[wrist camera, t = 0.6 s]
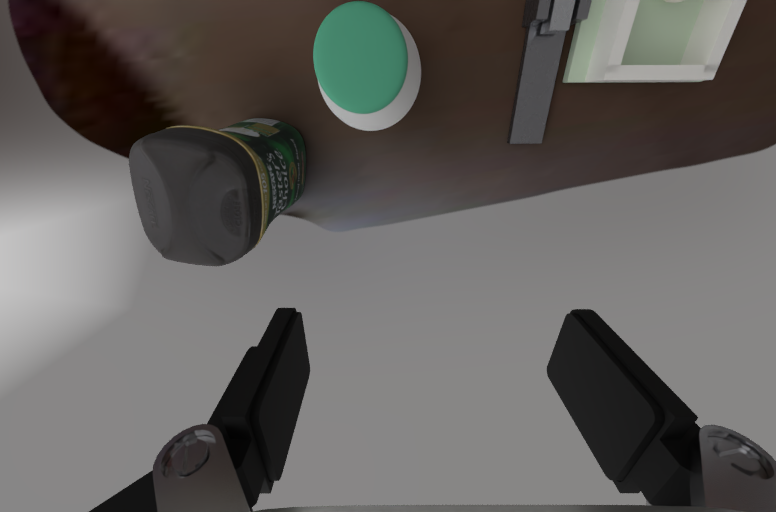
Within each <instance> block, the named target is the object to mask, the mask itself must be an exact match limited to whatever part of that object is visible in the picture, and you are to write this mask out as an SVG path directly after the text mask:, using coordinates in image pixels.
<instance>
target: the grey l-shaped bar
mask: <svg viewBox="0 0 776 512" xmlns="http://www.w3.org/2000/svg"><path fill="white" fill-rule="evenodd" d="M574 4H575V0H551V2H550V8H549V13H548V18H547V20H545V21H543V22H542V26H541V32H540V34H560V33H563V32H566V31H568V30H569V27H570V22H571V18H572V13H573V9H574Z"/></svg>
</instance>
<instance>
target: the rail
mask: <svg viewBox="0 0 776 512" xmlns="http://www.w3.org/2000/svg"><path fill="white" fill-rule="evenodd" d="M550 2H551V0H526V4H525V10H524V16H523V23H522V27H527V29H526V35H525V41H524V47H523V53H522V58H521V64H520V70H519V76H518V82H517V88H516V94H515V100H514V106H513V112H512V118H511V124H510V129H509V135H508V141H507V143H510V144H522V143H542V139H543V134H544V130H545V125H546V120H547V116H548V111H549V107H550V102H551V98H552V93H553V88H554V84H555V79H556V75H557V70H558V66H559V61H560V56H561V52H562V47H563V43H564V38H565V34H566V32H563V33H560V34H540V32H541V26H542V22H543V21H545V20H547V18H548V13H549V8H550ZM591 2H592V0H575V4H574V9H573V13H572V18H571V22H570V26H571V25H574V24H576V23H579V22H581V21H584V20H586V19H587V18H588V14H589V10H590V6H591Z"/></svg>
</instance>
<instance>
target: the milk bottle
mask: <svg viewBox="0 0 776 512" xmlns="http://www.w3.org/2000/svg"><path fill="white" fill-rule="evenodd" d="M313 60H314V68H315V72H316V76H317V79H318V83H319V87H320V91H321V93H322V96H323V98H324V100H325V102H326V103H327V105H328V107H329V108H330V109H331V111H332V112H333V113H334V114H335V115H336V116H337V117H338V118H339V119H340V120H342V121H343V122H344V123H346V124H348V125H349V126H351V127H354V128H356V129H360V130H365V131H377V130H382V129H385V128H388V127H390V126H392V125H394V124H395V123H397V122H398V121H400V120H401V119H402V118H403V117H404V116H405V115H406V114H407V112H408V111H409V110H410V108H411V107H412V105H413V103H414V101H415V99H416V97H417V94H418V91H419V87H420V81H421V63H420V57H419V53H418V50H417V47H416V44H415V42H414V40H413V38H412V36H411V34H410V33H409V31H408V30H407V29H406V27H405V26H404V25H403V24H402V23H401V22H400V21H399V20H397V19H396V18H395V17H393V16H392V15H390V14H389V13H388V12H386V11H385V10H384V9H382V8H381V7H379V6H377V5H375V4H372V3H369V2H364V1H353V2H348V3H345V4H343V5H341V6H339V7H337V8H335V9H334V10H333V11H332V12H331V13H330V14H329V15H328V16H327V17H326V18H325V19H324V21H323V22H322V24H321V26H320V28H319V30H318V32H317V35H316V38H315V43H314V50H313Z"/></svg>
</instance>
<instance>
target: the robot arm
mask: <svg viewBox="0 0 776 512" xmlns="http://www.w3.org/2000/svg"><path fill="white" fill-rule="evenodd" d="M309 374H310V364H309V358H308V352H307V345H306V339H305V333H304V327H303V321H302V314H301V312H296V309H295V308H278V309H277V310H276V312H275V314H274V316H273V318H272V320H271V321H270V323H269V325H268V327H267V329H266V331H265V333H264V335H263V337H262V339H261V341H260V342H259V344H258V346H257V347H251V348H249V349H248V351H247V352H246V354H245V356H244V358H243V360H242V361H241V363H240V365H239V367H238V369H237V370H236V372H235V374H234V376H233V378H232V380H231V381H230V383H229V385H228V387H227V389H226V391H225V392H224V394H223V396H222V398H221V400H220V401H219V403H218V405H217V407H216V408H215V411H214V412H213V414H212V416H211V418H210V420H209V421H208V423H207V424H201V425H196V426H192V427H190V428H188V429H186V430H183V431H182V432H180V433H179V434H177V435H176V436H174V437H173V438H172V439H171V440H170V441H169V442H168V443H167V444H166V445H164V447H163V448H162V450H161V451H160V452H159V454H158V455H157V457H156V460H155V462H154V465H153V471H151V472H149V473H148V474H146V475H145V476H143V477H142V478H140V479H139V480H137V481H136V482H134V483H132V484H131V485H129V486H128V487H126V488H125V489H123V490H122V491H120V492H119V493H117V494H116V495H114V496H113V497H111V498H109V499H108V500H106V501H105V502H103V503H102V504H100V505H99V506H97V507H95V508H94V509H92V510H91V511H89V512H253V509H252V507H253V506H254V505H255V504H256V503H257V500H258V497H259V494H260V493H271V490H272V487H273V483H274V481H277V480H278V481H279V479H280V478H281V475H282V472H283V469H284V465H285V461H286V458H287V454H288V450H289V447H290V444H291V440H292V436H293V433H294V429H295V426H296V421H297V418H298V415H299V411H300V407H301V404H302V400H303V397H304V393H305V389H306V386H307V382H308V379H309ZM547 374H548V377H549V379H550V381H551V382H552V384H553V386H554V388H555V389H556V391H557V393H558V395H559V396H560V398H561V400H562V401H563V403H564V405H565V407H566V408H567V410H568V412H569V414H570V415H571V417H572V419H573V420H574V422H575V424H576V426H577V427H578V429H579V431H580V432H581V434H582V436H583V438H584V439H585V441H586V443H587V444H588V446H589V448H590V450H591V451H592V453H593V455H594V456H595V458H596V460H597V462H598V463H599V465H600V467H601V468H602V470H603V472H604V474H605V475H606V476H607V477H608V478H609V479H610V480H613V482H614V484H615V485H616V487H617V489H618V490H619V492H620V493H639V492H640V491H641V492H642V493H643V495H644V496H645V498H646V499H647V501H646V506H645V505H382V506H381V505H379V506H378V505H377V506H375V505H372V506H321V507H290V508H278V509H267V510H259V511H254V512H776V461H775V460H774V459H773V458H772V456H771V455H769V454H768V453H767V452H766V451H765V450H764V449H763V448H761V447H760V446H759V445H757V444H756V443H754V442H753V441H752V440H750V439H749V438H747V437H745V436H743V435H741V434H739V433H737V432H736V431H733V430H731V429H728V428H725V427H722V426H717V425H705V426H703V427H702V428H700V427H699V426H698V425H697V424H696V423H695V421H696V420H697V418H698V417H697V416H696V415H695V414H694V413H693V412H692V411H691V409H690V408H688V406H687V405H686V404H685V403H684V402H683V401H682V400H681V399H680V398H679V397H678V396H677V395H676V394H675V393H674V392H673V391H672V390H671V389H670V388H669V387H668V386H667V385H666V384H665V383H664V382H663V381H662V380H661V379H660V378H659V377H658V376H657V375H656V374H655V373H654V372H653V371H652V370H651V369H650V368H649V367H648V366H647V365H646V364H645V363H644V361H643V360H642V359H641V358H640V357H639V356H638V355H637V354H636V353H635V352H634V351H633V350H632V349H631V348H630V347H629V346H628V345H627V344H626V343H625V342H624V341H623V340H622V339H621V338H620V337H619V336H618V335H617V334H616V333H615V332H614V331H613V330H612V329H611V328H610V327H609V326H608V325H607V324H606V323H605V322H604V321H603V320H602V318H600V316H599V315H598V314H597V313H595V312H594V311H593V310H589V309H587V310H586V309H582V310H581V309H579V310H578V309H576V310H572V311H571V312H570V314H567V315H566V317H565V320H564V322H563V325H562V328H561V330H560V333H559V336H558V339H557V341H556V344H555V347H554V350H553V352H552V355H551V358H550V361H549V363H548V366H547Z"/></svg>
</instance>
